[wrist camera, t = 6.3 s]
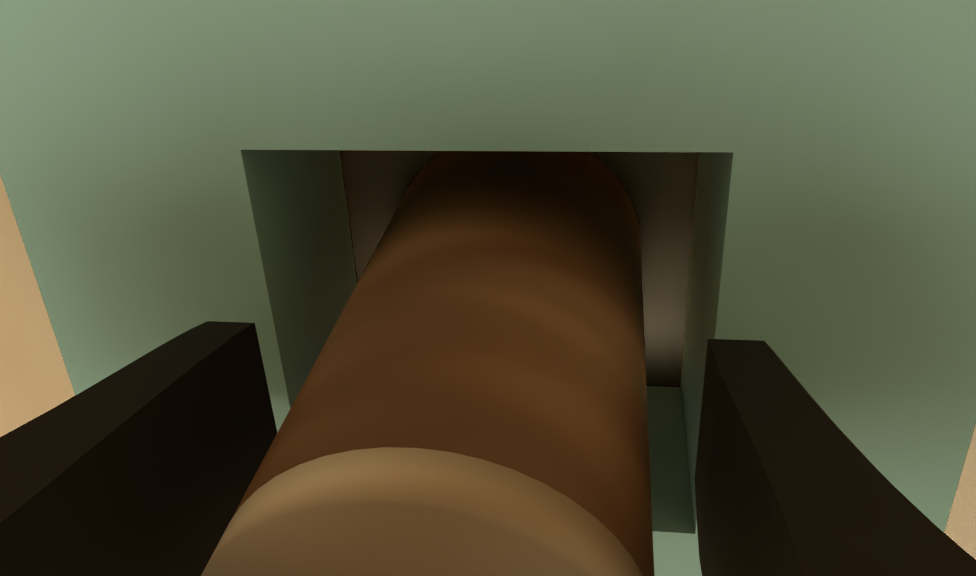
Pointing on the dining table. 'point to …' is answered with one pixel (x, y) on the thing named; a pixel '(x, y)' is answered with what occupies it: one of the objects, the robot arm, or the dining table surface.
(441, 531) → the peg
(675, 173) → the dining table surface
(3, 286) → the dining table surface
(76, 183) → the socket block
